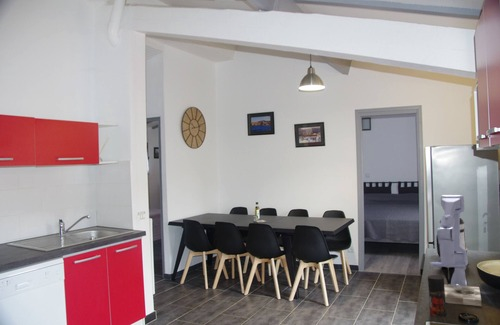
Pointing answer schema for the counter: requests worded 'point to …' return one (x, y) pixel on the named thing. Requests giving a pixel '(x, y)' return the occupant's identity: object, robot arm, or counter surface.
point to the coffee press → (462, 238)
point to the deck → (463, 295)
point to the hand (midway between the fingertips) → (449, 283)
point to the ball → (457, 287)
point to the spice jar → (437, 295)
